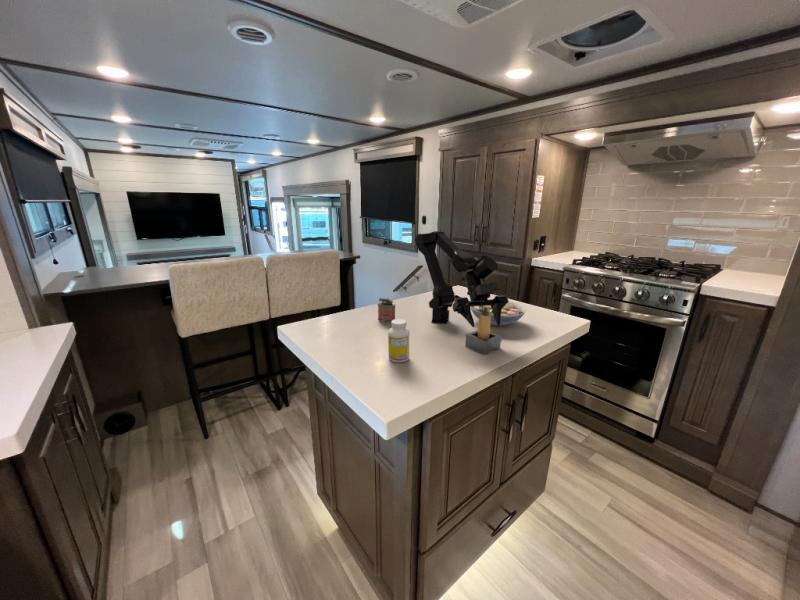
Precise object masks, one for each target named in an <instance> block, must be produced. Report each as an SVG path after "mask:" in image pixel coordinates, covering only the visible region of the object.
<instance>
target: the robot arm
mask: <svg viewBox="0 0 800 600" xmlns="http://www.w3.org/2000/svg"><path fill="white" fill-rule="evenodd" d="M414 242H415V245H416V246H415V247H417V250H418V251H419V252H420V253H421V254H422V255H423V256H424V259H425V263H426V266H427V269H428V271H429V276H430V279H431V282H432V284H433V285H432V286H433V289H432V298H431V300H429V302H428V307H429V309H432V310H431V311H432V314H431V316H432V317H431V323H434V324H441V325H442V324H443V325H444V324H445V325H446V324H448V322H449V321H450V310H449V308H452V311H453V312H456V313H457V314H460V315H461V316H462V317H463V318H464V319H465V320H466V322H468V324H469V325H470V326H471V327H472V328H474V327H475V321H474V318H473V314H472V310H471V308H470V306H487V305H491V308H493V309H492V313H493V315H494V318H495V321H496V323H497V325H500V319H501V310H502V308H503V307H504V306H505V305H506V304H507V303H508V302H509V301H510V300H509V299H508V297H507V296H506V295H504V294H503V295H495V296H494V297H493V298H492V299H493V300H488V299H491V298H490V297H491V295H493V294H495V293H496V292H498V291H499V286H498V283H497V281H493V282H489V283H487V284H486V283H483V280H486V279H488V278H489V277H490V276H492V275H493V274H494V273H495V272H496V271H497V270H498V267H499V266H498V262H497V261H495V259H494V258H492V257H489V255H488V254H483V255H481V257H480V258H479V259H478V260H477V259H476V258H475V257H474V256H473V255H472V254H470V253H469V252H466V251H463V250H462V249H460V248H459V247H458V246H457V245H456V244H455V243H454V242H453V241H452V240H451V239H450V238H449V237H448V236H447V235H446V233H445V231H442V230H434V231H431V232H429V233H428V232H427V233H418V234H417V235H416V237H415V239H414ZM437 246H438V247H439V248H440V249H441V250H442V251H443V252H444V254H446V255H447V256H448V257H449V258H450V260H451V265H452V267H453V269H455V270H456V272H457V273H463V276H462V277H461V279H460V281H461V282H465V284H466V287H467V288H466V289H467V292H466V294H467V296H469V298H470V299H469V298H468V297H467V296H466V297H465V296H464V297H455V295H456V293H455V292H454V288H453V286H452V285H451V284H450V285H449V284H447V283H446V281H445V278H444V274H443V272H442V269H441V268H442V267H441V266H440V263H439V259H438V257H437V253H436V251H437V250H436V249H437ZM464 272H465V273H464Z"/></svg>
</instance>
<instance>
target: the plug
mask: <svg viewBox="0 0 800 600" xmlns="http://www.w3.org/2000/svg"><path fill="white" fill-rule="evenodd" d="M477 326H478V327H477V330H478V335H477V337H478V338H481V339H483V340H487V339H489V336H490V332H491V326H492V325H491V314H489V312H488V311H487V307H485V308H484V311H482V313H480V314H479V319H478V324H477Z"/></svg>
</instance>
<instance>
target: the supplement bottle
mask: <svg viewBox="0 0 800 600" xmlns="http://www.w3.org/2000/svg"><path fill="white" fill-rule="evenodd" d="M390 324H391V328H389V329H388V336H387V337H388V339H387V340H388V341H387V342H388V345H387V346H388V359H389V361H391V362H393V363H398V364H399V363H400V364H401V363H405V362H407V361H409V359H410V330H409V328H407V320H405V319H403V318H395V319H394V320H392V321H391V323H390Z"/></svg>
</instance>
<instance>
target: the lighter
mask: <svg viewBox="0 0 800 600" xmlns="http://www.w3.org/2000/svg"><path fill="white" fill-rule="evenodd" d="M378 301H379V302H378V303H377V307H378V308H377V313H378V315H377V316H378V317H377V321H378V320H379V322H381V321H384V322H383V323H387V322H389V324H391V321H392V320H394V319H396V304H395V303H393V302H394V300H393V299H390V298H389V297H387V298H384V297H379V298H378Z"/></svg>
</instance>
